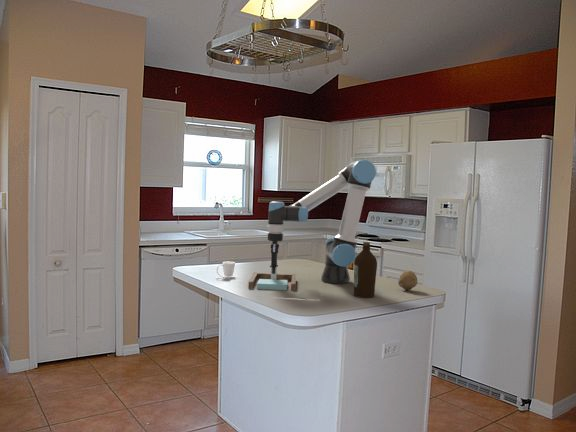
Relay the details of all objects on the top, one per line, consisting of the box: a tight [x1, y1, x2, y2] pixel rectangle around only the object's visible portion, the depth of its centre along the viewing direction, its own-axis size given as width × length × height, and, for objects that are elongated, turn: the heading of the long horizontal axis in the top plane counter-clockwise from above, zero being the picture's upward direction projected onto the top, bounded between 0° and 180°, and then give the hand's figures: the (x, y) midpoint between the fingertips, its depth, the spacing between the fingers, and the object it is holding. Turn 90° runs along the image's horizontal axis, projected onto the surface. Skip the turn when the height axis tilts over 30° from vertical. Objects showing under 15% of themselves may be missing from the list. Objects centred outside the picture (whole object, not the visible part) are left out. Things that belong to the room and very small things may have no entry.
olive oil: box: [353, 241, 378, 299], centre depth 239 cm, size 11×11×25 cm
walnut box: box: [247, 272, 297, 292], centre depth 254 cm, size 22×25×4 cm
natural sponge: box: [397, 270, 419, 291], centre depth 256 cm, size 9×9×10 cm
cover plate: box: [256, 279, 288, 291], centre depth 248 cm, size 14×12×2 cm
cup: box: [216, 260, 236, 279], centre depth 271 cm, size 7×10×8 cm
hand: (273, 279), depth 257 cm, fingers closed
